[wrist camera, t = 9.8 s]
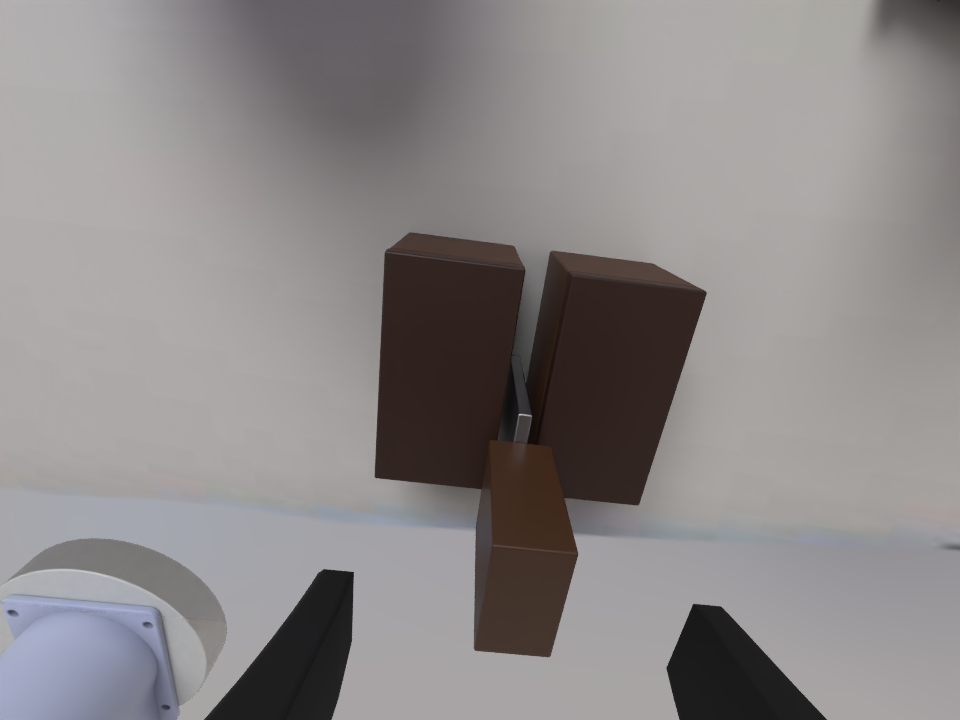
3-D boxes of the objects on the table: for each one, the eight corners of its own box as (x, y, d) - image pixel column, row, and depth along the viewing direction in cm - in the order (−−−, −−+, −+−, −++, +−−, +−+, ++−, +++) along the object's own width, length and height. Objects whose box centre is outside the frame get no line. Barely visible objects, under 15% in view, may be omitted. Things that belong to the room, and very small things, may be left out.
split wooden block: (607, 438, 18) (639, 506, 14) (396, 415, 18) (374, 478, 14) (654, 263, 16) (708, 291, 12) (408, 231, 15) (384, 250, 11)
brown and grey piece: (517, 469, 19) (544, 683, 11) (474, 464, 19) (468, 677, 11) (538, 357, 17) (588, 520, 9) (490, 351, 17) (498, 510, 9)
